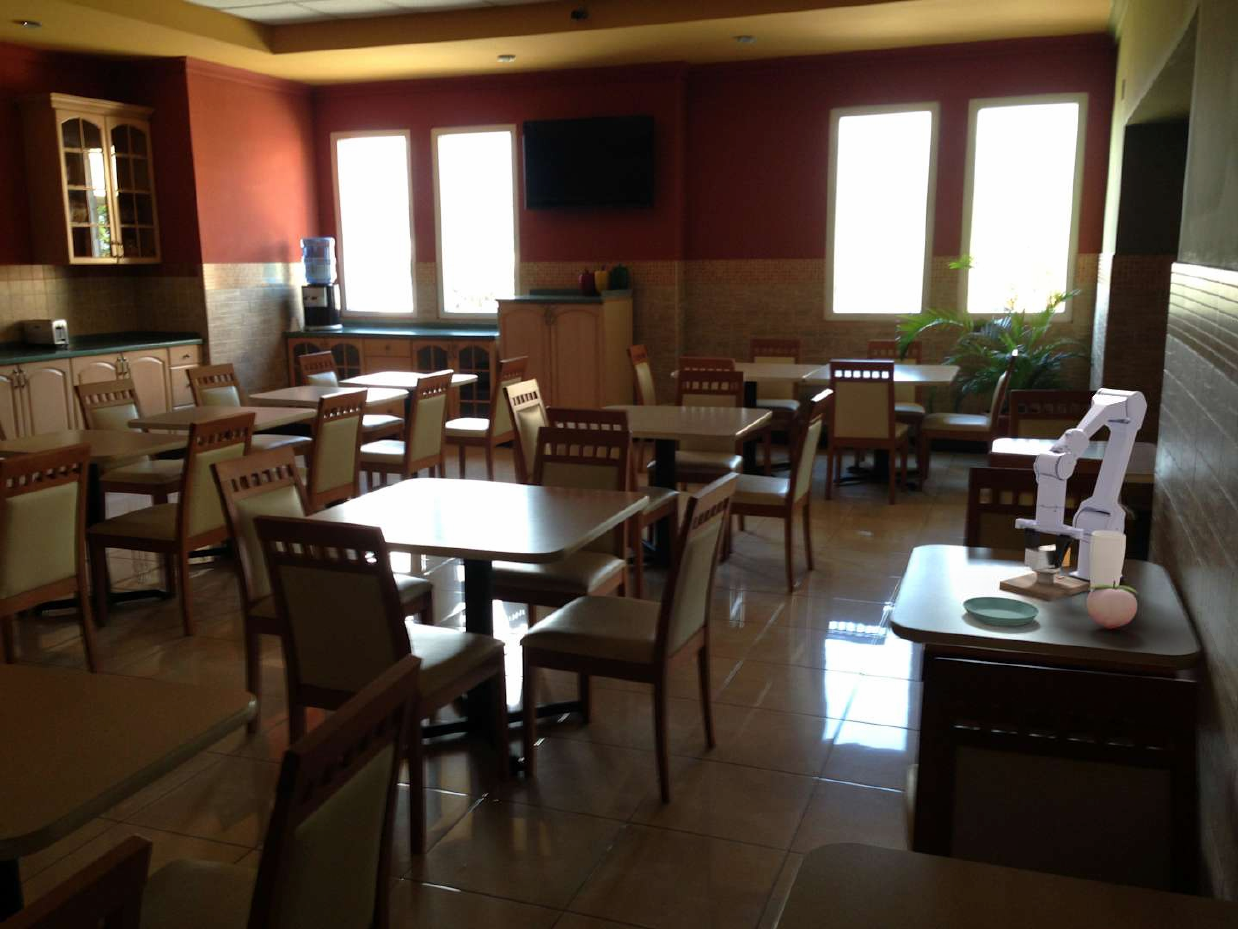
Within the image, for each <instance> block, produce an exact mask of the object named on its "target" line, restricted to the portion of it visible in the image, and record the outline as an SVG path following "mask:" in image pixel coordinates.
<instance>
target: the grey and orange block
mask: <svg viewBox="0 0 1238 929" xmlns="http://www.w3.org/2000/svg"><path fill="white" fill-rule="evenodd" d="M1055 556H1056V546H1055V544H1051V545H1041V546H1039V547H1032V548H1027V547H1026V548H1025V555H1024V566H1025V567H1028V568H1030V569H1031V571H1032V572H1033V573H1035V572H1037V573H1041V574H1057V575H1060V574H1061V567H1059V568H1056V567H1055ZM1070 558H1071V548H1070V547H1069V549H1068V551H1067V553H1066V555H1065V557H1064V560H1063V563H1062V567H1069V566H1070Z"/></svg>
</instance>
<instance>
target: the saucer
mask: <svg viewBox="0 0 1238 929" xmlns="http://www.w3.org/2000/svg"><path fill="white" fill-rule="evenodd" d="M962 606H963V608H964V610H966V612H967V614H968V615H969V616H970V617H971V618H972V619H974V620H975V619H976V621H978V622H980V623H983V624H987V625H991V626H996V627H1006V626H1013V627H1020V626H1024V625H1027V624H1028V623H1030V622H1031V621H1033V620H1035V618H1036V617H1037V616H1038V615H1039V613H1040V610H1039V608H1038V607H1037V606H1035V605H1033V604H1031V603H1029V602H1026V601H1023V600H1020V599H1019V600H1018V599H1013V598H1008V597H1007V598H1006V597H1000V596H996V597H995V596H979V597H977V596H976V597H972V598H968V599H965V600H964V601H963V603H962Z"/></svg>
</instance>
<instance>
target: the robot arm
mask: <svg viewBox="0 0 1238 929" xmlns="http://www.w3.org/2000/svg"><path fill="white" fill-rule="evenodd" d="M1090 404H1091V407H1090V409H1089V410H1088V411H1087V413H1086V414H1085V415H1084V417H1083V418H1082V420H1081V421H1080V422H1079V423H1078V425H1077V426H1076V428H1070V429H1067V430H1066V431H1065V432H1064V433H1063V435H1061V436H1060V438H1059V439H1057V441H1056V442H1054V444H1053V445H1052V446H1051V447H1050V448H1049V449H1048V450H1044V451H1042V452H1040V453H1039V454H1038V455H1036V458H1035V461H1034V463H1033V471H1034V473H1035V476H1036V478H1035V481H1036V483H1037V484H1038V485H1037V497H1036V498H1037V499H1036V509H1035V510H1036V511H1035V519H1026V518H1017V519H1015V526H1014V527H1015V529H1023V531H1022V532H1021V536H1022V539H1023V540H1024V542H1025V544H1026V548H1032V547H1040V543H1041V542H1040V541H1041V536H1042V533H1046V534H1052V535H1056V537H1054V543H1055V544H1054V545H1055V546H1056V556H1055V567H1056V568H1059V567H1063V566H1062V563H1063V560H1064V557H1065V555H1066V553H1067V551H1068V549H1069V548H1070V547H1071V545H1072V544H1073V543H1074V541H1075V540H1079V550H1078V560H1077V569H1076V571H1072V572H1069V576H1071V577H1074V578H1079V579H1081V580H1082V579H1083V580H1087V581H1090V545H1091V537H1092V532H1094V531H1100V530H1104V531H1114V532H1119V533H1122V534H1124V530H1125V519H1126V518H1125V517H1126V514H1127V513H1126V512H1125V510H1124V509H1123V508H1122V507H1121V505H1120V504H1119V503H1118V499H1119V495H1120V492H1121V489H1122V486H1123V481H1124V479H1125V474H1126V471H1127V469H1128V464H1129V461H1130V456H1131V455H1132V450H1133V448H1134V443H1135V439H1136V436H1137V432H1138V431H1139V430H1141V428H1142V425H1143V421H1144V418H1145V415H1146V412H1147V407H1148V404H1147V401H1146V398H1145V395H1144V394H1143V392H1141V391H1137V390H1136V391H1130V390H1121V389H1109V388H1104V387H1103V388H1099V389H1098V390H1097V391H1096V393H1095V394H1094V396H1092V398H1091V403H1090ZM1103 426H1107V427H1108V429H1109V430H1110V435H1109V438H1108V441H1107V444H1106V449H1105V453H1104V455H1103V459H1102V463H1101V466H1100V470H1099V473H1098V476H1097V479H1096V484H1095V487H1094V491H1093V494H1092V496H1091V497H1088V498H1087V499H1085V500H1083V501H1081V503H1080V505H1079V508H1078V509H1077V512H1076V513H1075V514H1074V515H1073V520H1072V526H1070V525H1067V524H1064V518H1065V506H1066V492H1067V481H1068V479H1069V478H1070V477H1071V476H1072V475H1073V472H1074V470H1075V466H1076V465H1077V460H1078V459H1079V458H1080V457H1081V456H1082V454H1084V452H1085V451H1086V450H1087V449H1088V448H1089V446H1090V440H1089V439H1090V438H1091V437H1092V436H1093V435H1094V434H1095V433H1096V432H1097V431H1098V430H1100V429H1101V428H1102V427H1103ZM1108 513H1109V514H1108ZM1122 577H1123V574H1121V576H1120V578H1122Z"/></svg>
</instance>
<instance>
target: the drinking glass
mask: <svg viewBox="0 0 1238 929" xmlns="http://www.w3.org/2000/svg"><path fill="white" fill-rule="evenodd" d="M1126 540H1127V536H1126V534H1125V533H1123V534H1122V533H1119V532H1114V531H1104V530H1100V531H1094V532H1092V537H1091V545H1090V580H1089V583H1090V587H1092V586H1094V585H1097V584H1106V585H1109V586H1112V587H1113V583H1114V581H1115V586H1120V580H1121V577H1120V576H1121V575H1122V571H1123V570H1122V569H1123V566H1124V559H1125V554H1126V544H1127V543H1126V542H1127V541H1126ZM1092 590H1093V589H1091V590H1089V593H1090V592H1091V591H1092Z"/></svg>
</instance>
